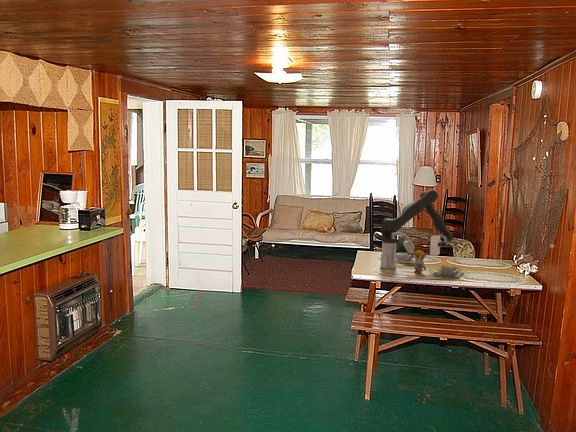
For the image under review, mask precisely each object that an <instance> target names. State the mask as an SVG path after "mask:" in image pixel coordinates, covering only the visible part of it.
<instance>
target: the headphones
mask: <svg viewBox="0 0 576 432" xmlns="http://www.w3.org/2000/svg"><path fill="white" fill-rule="evenodd" d="M403 233H404V232H400V231H397V232H395V233H392V235H393V236H394V237H396V236H402V237H403V236H405V238H407V239H408V240H409V242H408V241H404V242H403V245H404V247H405V249H406V250H407V252H408V253H413V252H414V251H415V249H416V247H415V245H414V243H412V242H411V241H412V240H411V239H410V237H409V236H408V235H407V234H405V233H404V234H403ZM408 253H397V254H396V262H397V263H398V262H399V263H402V262H401V261H407V262H409V260H410V258H411V257H410V256H411V255H409V254H408Z"/></svg>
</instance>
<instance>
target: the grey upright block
mask: <svg viewBox="0 0 576 432" xmlns="http://www.w3.org/2000/svg"><path fill="white" fill-rule="evenodd" d="M430 241H431V243H430V245H429V247H430V249H429V255H430V256H435V257H437V256H438V255H440V253H441V247H440V246H439V247H438V243H439V242H440V236H438V235H435V234H434V235H432V236H430Z"/></svg>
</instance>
